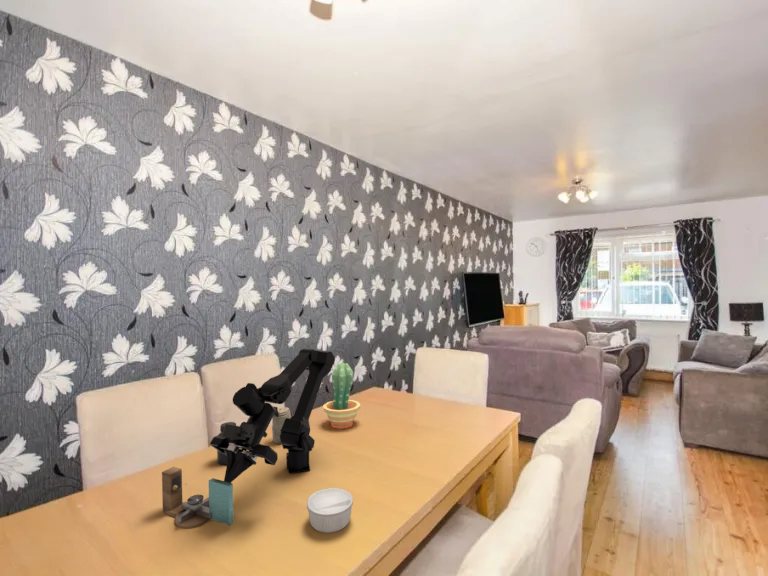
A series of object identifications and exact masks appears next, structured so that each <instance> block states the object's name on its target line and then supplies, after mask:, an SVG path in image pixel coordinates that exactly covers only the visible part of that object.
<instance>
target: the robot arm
mask: <svg viewBox="0 0 768 576" xmlns="http://www.w3.org/2000/svg"><path fill="white" fill-rule="evenodd" d="M335 361H336V357H335V355H334V354H333V352H332V351H329V350H316V349H313V348H302V349H300V350H299V352H298V355H296V356H295V358H293V360H291V362H290V363H288V365H287V366H286V367H285V368H284V369H283V370H282V371H281V372H280V373H279V374H277V375H275V376H273V377H270V378H269V379H268V380H266V381H264V383H263V384H262V385H261V386H260V387H257V386H256V384H255V383H251V382H248V383H247V384H246V386H243V387H241V388H240V389H238V390H237V391H235V393H234V394H233V397H232V404H233V405H234V406H235V407H237V408H238V410H240V411H241V412H242V413H243V414H244V415H245V416H247V417H248V418H247V421H242V422H241V424H239V425H236V426H235V425H229V424H225V427H224V431H223V434H222V436H218V434H217V435H215V436H213V438H212V439H211V441H210V443H209V445H210V446H211V447H213V448H214V449H215V450H216V451H217V450H218V451H219V452H221V453H223V454H227V458H228V460H227V465H226V468H225V474H224V479H223V481H225V482H229V483H232V482H233V481H235V479H236V478H238V477H239V476H241V475H242V474H243V473H244V472H245V471H247V470H248V469H249V468H250V467H252V466H253V465H256V464H257V462H256V460H257V459H258V458H261V459H263V460H264V464H266V465H271V466H275V465H276V464H277V461H278V457H279V456H278V455H279V454H278V453H277V451H275V450H274V449H273V448H272V447H271V446H270V445H265V444H262V443H261V441H262V439H263V438H267V436H268V433H267V429H268V427H269V425H270V424H271V423H272V422H271V421H272V418H273V417H279V412H278V408H279V407H277V406H273V405H272V404H277V405H282V404H284V403H285V402H286V401H287V400H288V398H289V396H290V395H291V393H292V387H293V384H294V383H295V382H297V380H298V379H299V378H300V377H301V376H302V374H303V373H304V372H305V371H306V369H308V375H307V378H306V381H305V383H304V387H303V388H302V392H301V393H300V394H301V395H300V397H299V400H298V403H297V405H296V408H295V411H294V413H293V415H292V416H291V418H290V419H289V418H286V419H285V421H284V424H283V427H282V429H281V430H280V431H281V433H280V440H281V443H282V444H281V445H282V449H283V450H284V449H285V450H288V451H287V452H286V454H285V455H286V456H285V457H286V462H285V464H286V470H288V474H296V473H301V472H303V473H304V472H308V471H310V470H311V466H310V452H312V451H313V448H315V439H314V438H313V437H312V436H311V435H310V433H311V427H310V426H311V425H310V417H311V414H312V412H313V409H314V406H315V402H316V399H317V397H318V395H319V390H320V388H321V386H322V382H323V379H324V378H325V377H326V376H327V375H328V374H329V373H331V370H332V369H333V366H334V364H335ZM227 437H228V438H230V439H231V440H232V441H235V442H236V443H233V442H232V441H231V440H230V439H228V438H227ZM260 443H261V444H260Z"/></svg>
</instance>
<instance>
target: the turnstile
mask: <svg viewBox="0 0 768 576" xmlns="http://www.w3.org/2000/svg"><path fill="white" fill-rule="evenodd" d="M233 490H234V486H233V483H232V482H231V483H229V482H225V481H224V480H222V479H221V480H220V479H218V478H214V477H212V478H210V479H208V497H206V498H205V499H204V495H202V494H194V495H192V496H189V497H188V499H187V501H183V502H184V503H182V504H181V509H183V510H186V511H185V512H184V513H182V514H181V515H179V516H178V522H183V521H184V520H186V519H188V518H189V517H191V516H192V515H199V516H202V517H205V518H208V519H211V520H213V521H216V522H219V523H221V524H224V525H227V526H231V525H232V524H234V491H233ZM208 505H209V508H208V507H206V506H208Z"/></svg>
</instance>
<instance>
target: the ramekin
mask: <svg viewBox="0 0 768 576" xmlns="http://www.w3.org/2000/svg"><path fill="white" fill-rule="evenodd" d="M306 501H307V502H306V509H307V512H308V518H309V523H310V525H311V527H312V528H313V529H314V530H316V531H317V532H319V533H327V534H328V533H336V532H338V531H341V530H343V529H344V528H345V527H347V525H348V523H350V520H351V515H352V509H353V508H352V507H353V504H354V498H353V496H352V494H351V493H350V492H349V490H345V489H342V488H339V487H329V488H324V489H323V488H322V489H321V490H318V491H315V492H314V493H312V494H311V495H310V496H309V497H308V499H307V500H306Z"/></svg>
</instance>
